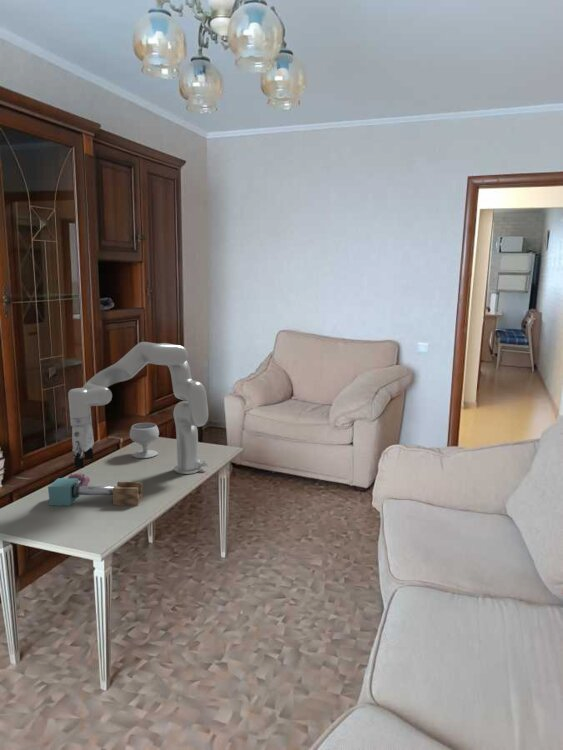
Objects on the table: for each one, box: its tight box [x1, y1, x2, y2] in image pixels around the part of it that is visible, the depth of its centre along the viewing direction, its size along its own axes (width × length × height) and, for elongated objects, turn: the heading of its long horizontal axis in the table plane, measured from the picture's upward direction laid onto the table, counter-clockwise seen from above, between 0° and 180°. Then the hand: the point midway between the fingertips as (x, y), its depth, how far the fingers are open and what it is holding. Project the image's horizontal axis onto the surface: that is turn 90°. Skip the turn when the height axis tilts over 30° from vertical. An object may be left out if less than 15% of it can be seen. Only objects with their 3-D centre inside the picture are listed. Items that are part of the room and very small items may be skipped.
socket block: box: [47, 477, 79, 507], centre depth 212 cm, size 8×9×8 cm
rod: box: [71, 483, 120, 499], centre depth 212 cm, size 26×5×5 cm, turn 89°
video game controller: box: [67, 472, 91, 486], centre depth 226 cm, size 10×5×7 cm, turn 72°
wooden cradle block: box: [112, 481, 144, 506], centre depth 212 cm, size 10×7×7 cm
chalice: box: [129, 422, 160, 459], centre depth 267 cm, size 14×14×15 cm
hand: (84, 463), depth 210 cm, fingers open, 9 cm apart
